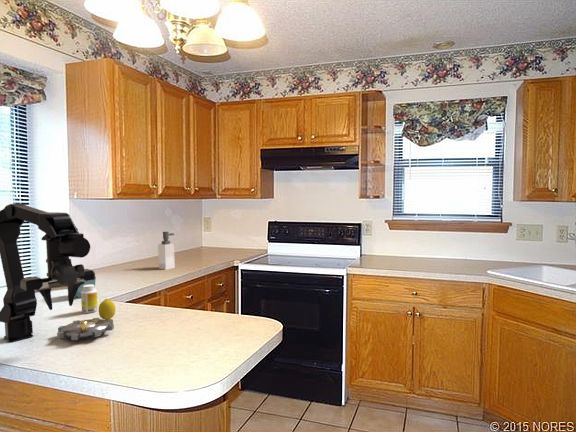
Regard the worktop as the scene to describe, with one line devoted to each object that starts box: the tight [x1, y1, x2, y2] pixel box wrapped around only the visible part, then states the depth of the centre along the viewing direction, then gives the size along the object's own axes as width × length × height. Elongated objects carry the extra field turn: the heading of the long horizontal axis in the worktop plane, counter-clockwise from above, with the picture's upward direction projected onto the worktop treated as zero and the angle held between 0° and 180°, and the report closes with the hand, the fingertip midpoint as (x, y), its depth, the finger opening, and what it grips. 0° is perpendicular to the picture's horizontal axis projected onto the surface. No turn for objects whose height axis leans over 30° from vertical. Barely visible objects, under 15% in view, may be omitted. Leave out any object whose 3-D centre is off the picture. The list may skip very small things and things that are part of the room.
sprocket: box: [56, 317, 115, 341], centre depth 131 cm, size 17×17×4 cm
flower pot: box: [75, 275, 97, 299], centre depth 181 cm, size 9×9×9 cm
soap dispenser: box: [157, 231, 176, 270], centre depth 244 cm, size 6×9×22 cm
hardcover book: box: [48, 282, 68, 292], centre depth 203 cm, size 16×23×2 cm
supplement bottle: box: [80, 284, 99, 314], centre depth 157 cm, size 6×6×10 cm
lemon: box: [98, 298, 116, 320], centre depth 146 cm, size 6×6×8 cm
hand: (60, 307), depth 121 cm, fingers open, 5 cm apart
